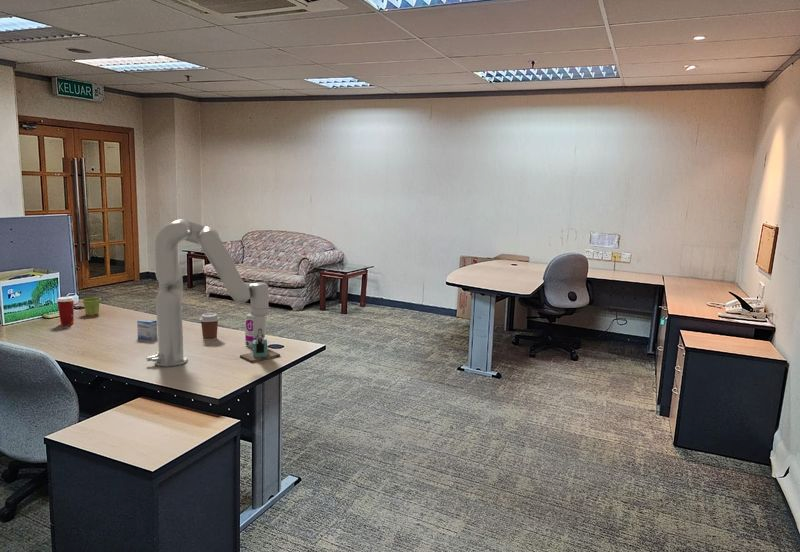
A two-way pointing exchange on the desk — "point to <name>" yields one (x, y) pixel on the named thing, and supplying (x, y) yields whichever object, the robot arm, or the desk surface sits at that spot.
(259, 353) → the teal cube
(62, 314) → the paper cup
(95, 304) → the plant pot
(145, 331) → the medicine box
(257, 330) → the robot arm
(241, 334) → the desk surface
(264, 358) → the post board
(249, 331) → the supplement can
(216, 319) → the coffee cup
